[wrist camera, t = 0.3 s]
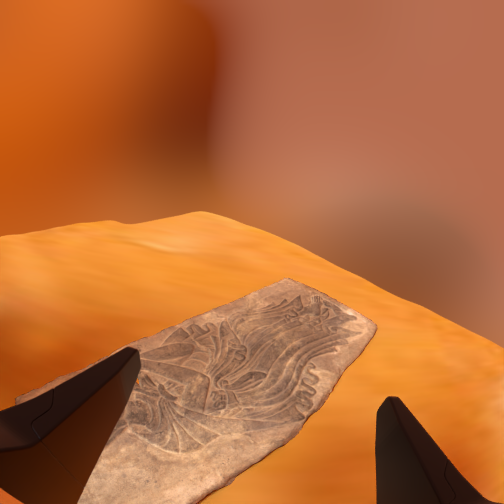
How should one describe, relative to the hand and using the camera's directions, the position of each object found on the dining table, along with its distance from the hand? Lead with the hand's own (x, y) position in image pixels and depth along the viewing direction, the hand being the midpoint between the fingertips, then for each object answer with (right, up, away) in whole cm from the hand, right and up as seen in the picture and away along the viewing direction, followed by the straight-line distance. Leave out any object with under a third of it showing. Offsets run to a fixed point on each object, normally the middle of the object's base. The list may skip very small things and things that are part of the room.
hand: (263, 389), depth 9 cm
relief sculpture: (-2, -8, +21) cm, 22 cm away
